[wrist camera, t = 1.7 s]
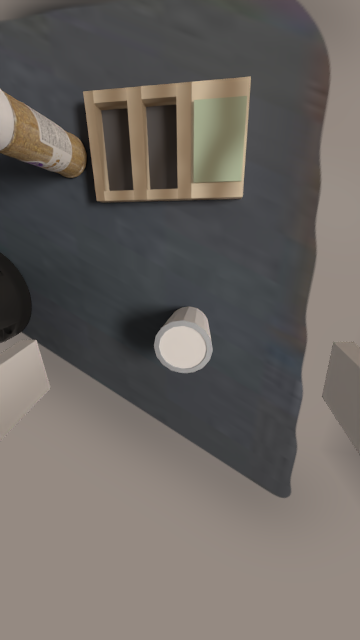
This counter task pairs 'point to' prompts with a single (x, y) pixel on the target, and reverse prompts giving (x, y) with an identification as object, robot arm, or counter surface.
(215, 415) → the counter surface
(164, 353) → the grey cup
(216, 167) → the slotted wooden board
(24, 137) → the sprinkles bottle
